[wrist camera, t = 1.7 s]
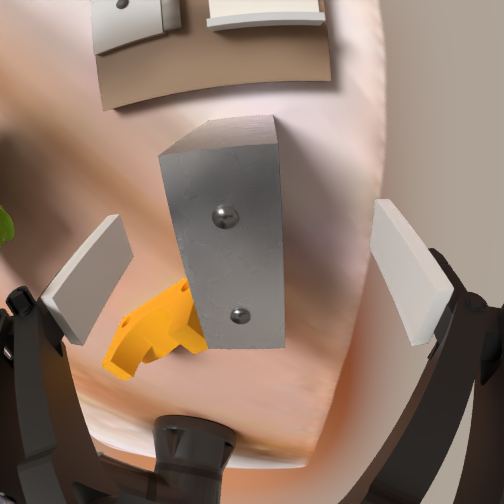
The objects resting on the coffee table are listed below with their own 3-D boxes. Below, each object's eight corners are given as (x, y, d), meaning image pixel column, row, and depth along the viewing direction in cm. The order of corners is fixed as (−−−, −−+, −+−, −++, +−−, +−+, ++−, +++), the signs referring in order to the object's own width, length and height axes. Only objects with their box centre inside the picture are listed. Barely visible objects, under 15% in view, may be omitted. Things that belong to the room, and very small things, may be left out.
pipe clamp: (153, 340, 29) (136, 389, 24) (123, 316, 27) (101, 365, 22) (238, 298, 25) (230, 359, 19) (204, 264, 23) (186, 324, 17)
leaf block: (280, 250, 22) (284, 349, 14) (227, 253, 22) (208, 350, 14) (272, 114, 16) (278, 144, 8) (208, 120, 16) (156, 156, 9)
